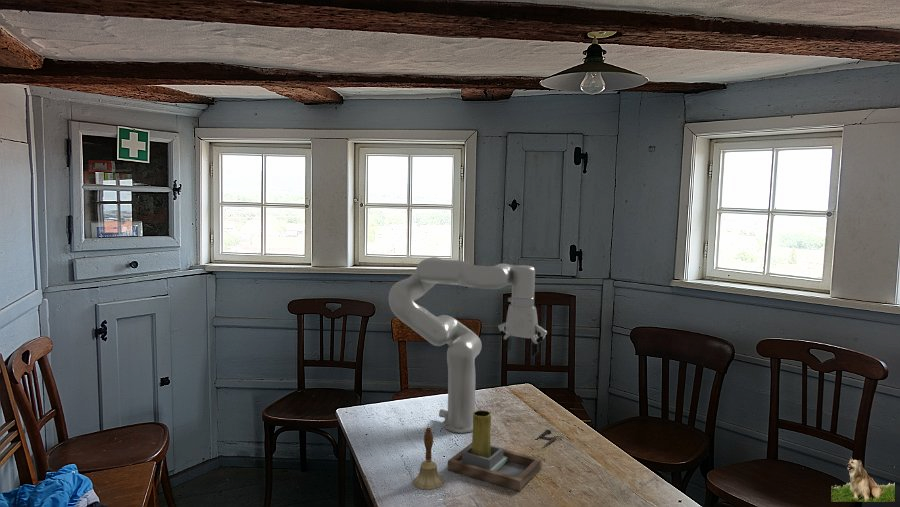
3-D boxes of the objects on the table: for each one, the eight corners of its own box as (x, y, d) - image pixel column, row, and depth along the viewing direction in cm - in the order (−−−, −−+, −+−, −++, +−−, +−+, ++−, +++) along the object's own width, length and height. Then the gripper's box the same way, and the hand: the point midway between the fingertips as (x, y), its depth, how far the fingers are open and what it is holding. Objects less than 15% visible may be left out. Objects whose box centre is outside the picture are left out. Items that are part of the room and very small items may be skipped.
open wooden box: (447, 470, 169) (447, 460, 168) (473, 450, 182) (473, 441, 182) (519, 491, 157) (520, 481, 157) (541, 468, 171) (541, 459, 170)
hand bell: (446, 487, 159) (447, 432, 157) (417, 491, 156) (417, 435, 155) (438, 474, 166) (439, 420, 165) (410, 477, 164) (411, 423, 163)
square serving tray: (456, 467, 169) (457, 453, 169) (475, 452, 180) (476, 439, 179) (490, 476, 164) (490, 462, 163) (507, 460, 174) (508, 447, 174)
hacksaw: (546, 431, 199) (546, 427, 199) (574, 439, 193) (574, 435, 193) (512, 456, 180) (512, 451, 179) (541, 465, 174) (542, 461, 173)
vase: (493, 456, 174) (494, 411, 172) (488, 465, 168) (489, 418, 167) (474, 453, 176) (475, 408, 174) (468, 462, 170) (469, 415, 169)
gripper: (494, 301, 193) (493, 351, 194) (543, 307, 184) (541, 359, 186) (504, 298, 199) (502, 346, 201) (551, 303, 191) (549, 354, 192)
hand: (521, 352), depth 193 cm, fingers open, 9 cm apart
